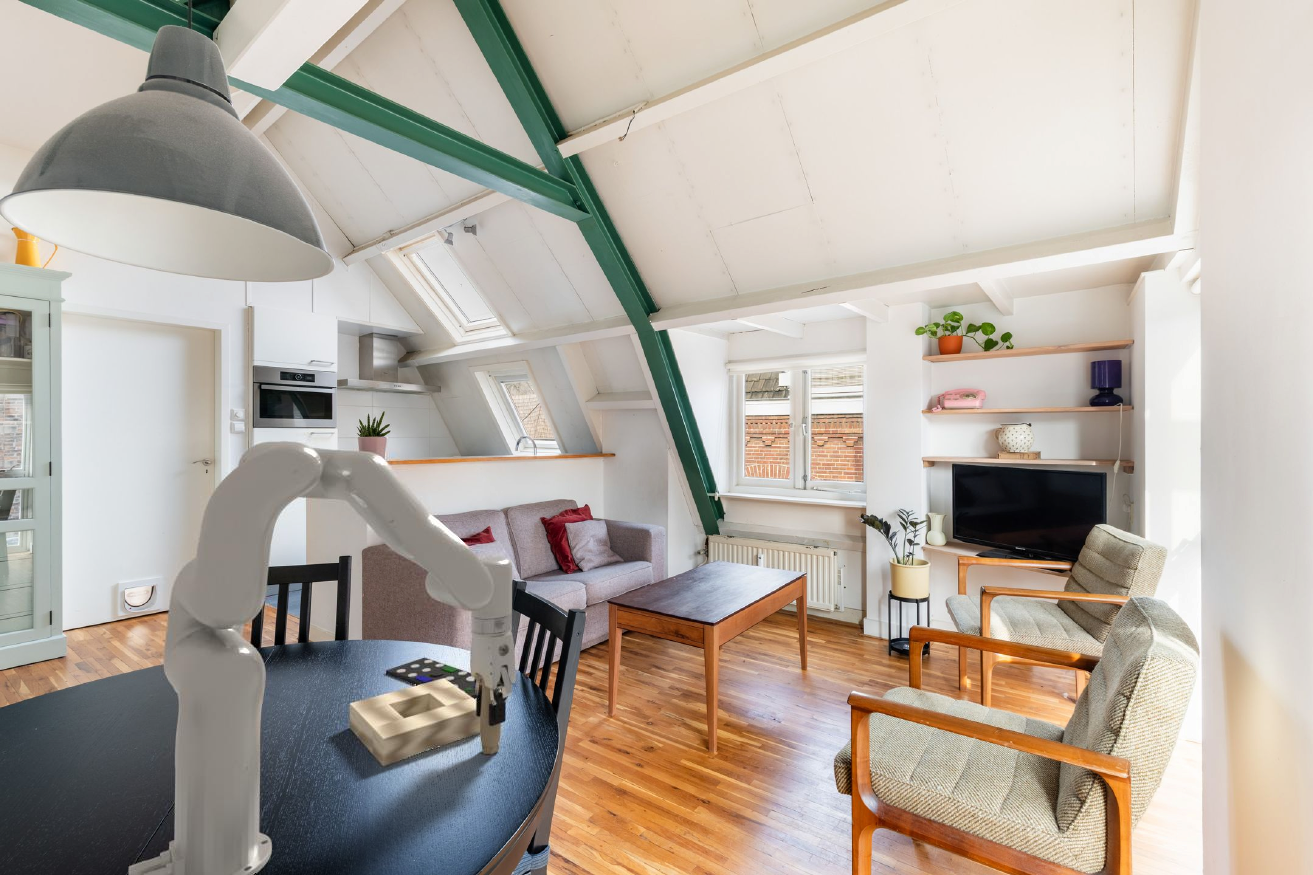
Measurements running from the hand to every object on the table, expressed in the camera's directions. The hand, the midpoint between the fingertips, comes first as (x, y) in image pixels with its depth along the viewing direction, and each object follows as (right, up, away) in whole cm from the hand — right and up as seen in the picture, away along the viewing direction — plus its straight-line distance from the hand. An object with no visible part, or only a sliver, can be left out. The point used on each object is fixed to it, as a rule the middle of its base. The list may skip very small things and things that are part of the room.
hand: (490, 717), depth 116 cm
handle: (0, -7, 0) cm, 7 cm away
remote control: (-21, -7, +34) cm, 41 cm away
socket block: (-17, -6, +8) cm, 20 cm away
